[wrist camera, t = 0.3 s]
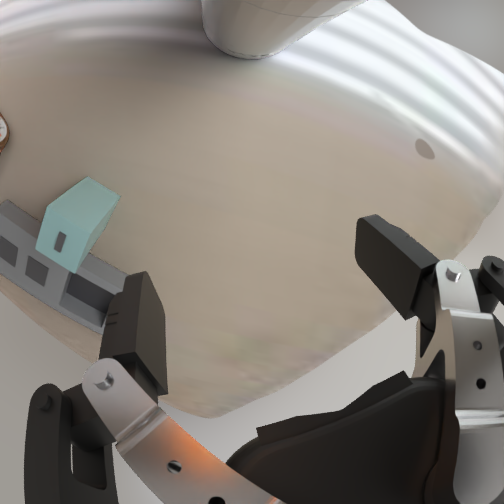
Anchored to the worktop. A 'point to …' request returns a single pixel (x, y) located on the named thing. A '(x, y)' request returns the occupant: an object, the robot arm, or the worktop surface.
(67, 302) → the power strip
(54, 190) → the worktop surface
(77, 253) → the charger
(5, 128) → the tin
